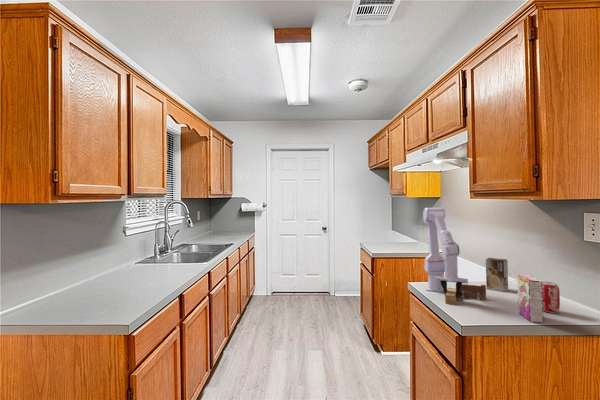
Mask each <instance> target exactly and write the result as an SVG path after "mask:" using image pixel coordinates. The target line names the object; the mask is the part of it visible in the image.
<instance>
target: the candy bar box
mask: <svg viewBox="0 0 600 400" xmlns="http://www.w3.org/2000/svg"><path fill="white" fill-rule="evenodd" d="M542 282H543V281H542V280H540V279H539V278H536V277H534V276H532V275H531V274H517V294H518V295H517V297H518V298H517V299H518V301H517V302H518V313H519V314H520V315H521V316H522V317H523V318H524V319H526V320H527V321H528V322H529V323H535V324H536V323H541V324H543V323H544V311H543V299H542Z"/></svg>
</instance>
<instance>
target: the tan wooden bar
mask: <svg viewBox="0 0 600 400" xmlns="http://www.w3.org/2000/svg"><path fill="white" fill-rule="evenodd" d="M444 295H445V294H444ZM444 297H445V299H444V300H445V302H444V303H445V304H446V305H453V304H455V305H456V303H457V300H458V298H456V288H451V287H449V288H448V287H447V293H446V295H445V296H444Z"/></svg>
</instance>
